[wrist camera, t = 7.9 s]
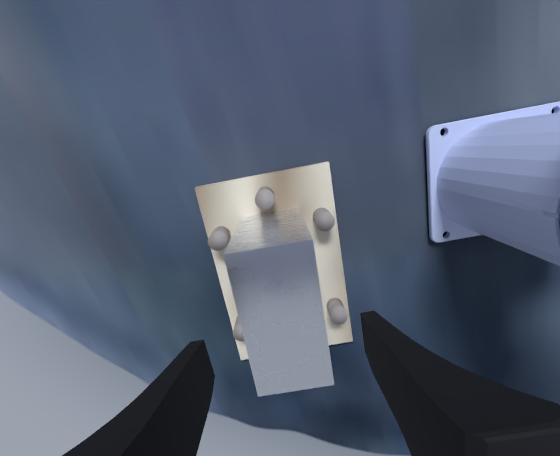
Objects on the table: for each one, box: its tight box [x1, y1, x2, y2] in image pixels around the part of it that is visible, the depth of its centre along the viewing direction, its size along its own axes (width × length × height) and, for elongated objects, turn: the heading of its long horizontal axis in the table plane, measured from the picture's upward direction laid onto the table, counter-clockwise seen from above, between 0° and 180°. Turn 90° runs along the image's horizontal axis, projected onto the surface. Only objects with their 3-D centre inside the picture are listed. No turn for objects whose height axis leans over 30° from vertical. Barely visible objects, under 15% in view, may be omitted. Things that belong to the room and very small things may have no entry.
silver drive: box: [223, 207, 334, 397], centre depth 17 cm, size 4×8×7 cm, turn 10°
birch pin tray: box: [195, 162, 353, 360], centre depth 20 cm, size 9×14×2 cm, turn 10°
